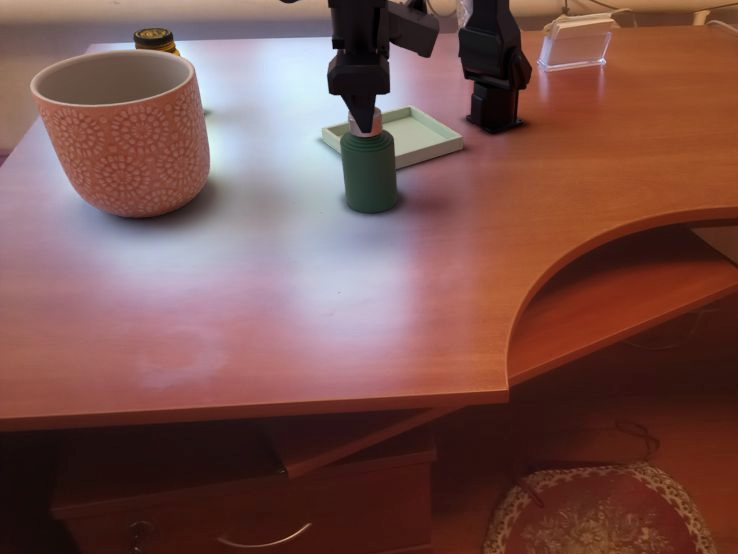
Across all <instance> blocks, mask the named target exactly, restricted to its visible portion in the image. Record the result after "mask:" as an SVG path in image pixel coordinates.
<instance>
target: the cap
mask: <svg viewBox="0 0 738 554" xmlns="http://www.w3.org/2000/svg"><path fill="white" fill-rule="evenodd" d="M381 112H382V109H381V108H379V107H377V106H375V109H374V116H373V124H372V131H371V133H362V132H361V131H360V129H359V127H358V125H357V124H356V122H355V120H354V118H353V116H352V115H351V113H350V111H349V110H348V111H347V121H348V122H349V130H350V132H351V133H352V134H353V135H355V136H358V137H372V136H376V135H378V134H380V133H381V132H382V129H383V124H382V115H381Z"/></svg>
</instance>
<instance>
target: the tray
mask: <svg viewBox="0 0 738 554" xmlns="http://www.w3.org/2000/svg"><path fill="white" fill-rule="evenodd" d="M381 115H382V124H383V129H384V130H386V131H388V132H389V133H390V134H391V135H392V136H393V137H394V145H395V163H396V170H399V169H401V168H405V167H408V166H411V165H415V164H418V163H422V162H426V161H428V160H431V159H435V158H437V157H441V156H445V155H447V154H451V153H454V152H457V151H460V150H463V149H464V136H463V135H461V134H460V133H458V132H456V131H455V130H454V129H452V128H450V127H448V126H447V125H445V124H444V123H442V122H440V121H439V120H437V119H435V118H434V117H432V116H431V115H429V114H427V113H426V112H424V111H422V110H421V109H419V108H418V107H416V106H414V105H413V104H408V105H404V106H400V107H397V108H394V109H389V110H385V111H381ZM320 129H321V136H322V137H321V138H322V141H323V142H324V143H325V144H326V145H327V146H329V147H330V148H332V149H333V150H334V151H335V152H337V153H338V154H339V155H341V148H340V139H341V137H342V136H343V135H344V134H345V133H346V132H348V131H350V130H349V122H348V120H347V121H343V122H339V123H336V124H335V123H334V124H332V125H328V126H324V127H321V128H320Z"/></svg>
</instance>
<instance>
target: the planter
mask: <svg viewBox="0 0 738 554" xmlns="http://www.w3.org/2000/svg"><path fill="white" fill-rule="evenodd" d="M199 85H200V84H199V79H198V76H197V72H196V68H195V66H194V64H193V63H192V62H191V61H189V60H188V59H187V58H185V57H183V56H182V55H180V56H178V55H175V54H172V53H168V52H163V51H156V50H143V49H136V48H133V49H132V48H131V49H128V48H127V49H113V50H104V51H103V50H102V51H97V52H90V53H86V54H82V55H77V56H73V57H70V58H67V59H63V60H61V61H58V62H55V63H54V64H51V65H50V66H47V67H45V68H43V69H42V70H40V71H39V72H38V73H37V74H36V75H35V76H34V77H33V78H32V80H31V81H30V88H29V89H30V92H31V94H32V98H33V100H34V103H35V106H36V108H37V111H38V113H39V116H40V118H41V120H42V123H43V125H44V128H45V131H46V133H47V135H48V137H49V140H50V143H51V145H52V147H53V150H54V152H55V154H56V157H57V159H58V162H59V163H60V166H61V168H62V171H63V173H64V174H65V176H66V178H67V180H68V182H69V183H70V184H71V186H72V188H73V190H74V191H75V192H76V193H77V194H78V195H79V197H80V198H81V199H82V200H84V201H85V202H86V203H88V204H89V205H90V206H92V207H94V208H96V209H99V210H100V211H102V212H105V213H107V214H111V215H114V216H119V217H122V218H123V217H124V218H133V219H136V218H137V219H141V218H149V217H150V218H152V217H157V216H161V215H165V214H169V213H171V212H173V211H176V210H178V209H181V208H182V207H183V206H186V205H187V204H189V202H190V201H192V200H193V199H194V198H195V197H196V196H197V195H198V194H199V193H200V192H201V191H202V189H203V188H204V187H205V185H206V183H207V180H208V178H209V175H210V170H211V151H210V143H209V135H208V130H207V124H206V117H205V113H204V112H203V111H204V108H203V102H202V95H201V91H200V86H199Z"/></svg>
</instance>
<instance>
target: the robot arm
mask: <svg viewBox="0 0 738 554" xmlns="http://www.w3.org/2000/svg"><path fill="white" fill-rule="evenodd" d="M278 1H279V2H281V3H283V4H287V5H288V4H289V5H290V4H295V3H298V2H301V1H302V0H278ZM510 7H511V6H510V0H472V10H471V11H472V12H471V14H470V15H469V18H468V19H467V21H466V23H465V25H464V26H463V27H460V28H459V29H458V32H457V37H458V52H457V53H458V54H457V58H459V59H460V63H461V68H462V74H463V78H464V80H467V81H473V89H472V93H471V95H470V113H469V114H467V115H465V119H466V121H469V122H470V123H472V124H473V125H475V126H477V127H479V128H480V129H482V130H484V131H485V132H487V133H489V134H495V133H498V132H501V131H506V130H509V129H511V128H515V127H518V126H523V125H524V122H525V120H524V119H523V118H520V117H518V111H519V109H518V108H519V96H520V91H525V90H526V89H527V86H528V85H529V84H530V83H531V78H532V73H533V66H532V65H531V63H530V61H529V60H528V58H527V57H526V54H525V53H524V51H523V48H522V32H521V29H520V27H519V25H518V23H517V21H516V18H515V17H514V15H513V13H512V10H511V8H510ZM327 8H328V9H330V17H331V18H330V19H331V26H332V35H331V47H332V50H336V54H335V56H333V58H331V60H330V61H329V62H328V66H327V72H326V79H327V80H326V81H327V90H328V94H329V95H332V96H340V97H341V99H342V101H343V102H344V104H345V106H346V108H347V109H348V111H350V113H351V115H352V116H353V118H354V120H355V122H356V124H357V125H358V127H359V129H360V131H361V132H362V133H371V131H372V124H373V116H374V109H375V107H376V102H377V101H376V100H377V96H386V95H388V94H391V67H390V61H388V60H390V57H391V54H390V53H391V45H390V44H392V45H393V46H395V47H399V48H401V49H404V50H407V51H410V52H413V53H415V54H417V55H418V56H419V57H421V58H425V59H430V58H431V57H432V55H433V51H434V48H435V45H436V43H437V40H438V36H439V33H440V30H441V28H440V21H439V18H437V17H436V15H435V13H429V12H428V6H427V0H406V1H405V2H403V1H399V2H396V1H392V0H327Z"/></svg>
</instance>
